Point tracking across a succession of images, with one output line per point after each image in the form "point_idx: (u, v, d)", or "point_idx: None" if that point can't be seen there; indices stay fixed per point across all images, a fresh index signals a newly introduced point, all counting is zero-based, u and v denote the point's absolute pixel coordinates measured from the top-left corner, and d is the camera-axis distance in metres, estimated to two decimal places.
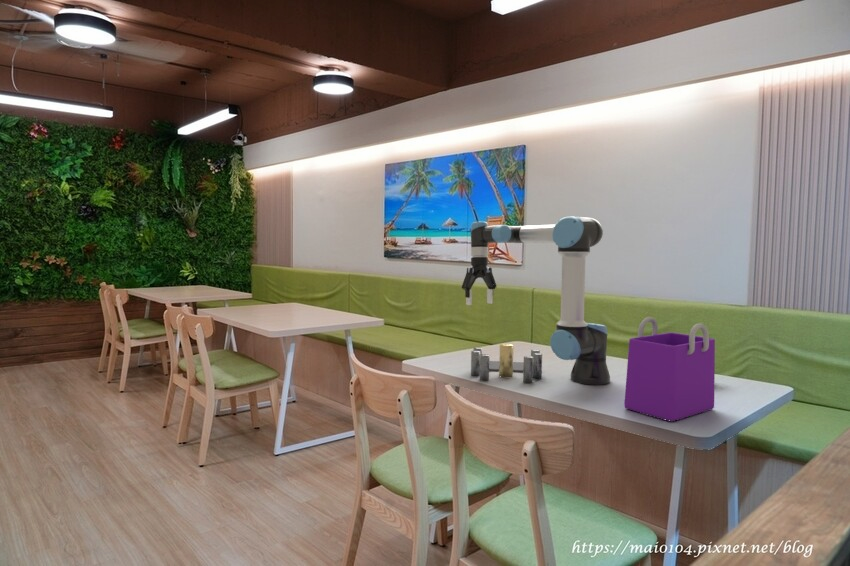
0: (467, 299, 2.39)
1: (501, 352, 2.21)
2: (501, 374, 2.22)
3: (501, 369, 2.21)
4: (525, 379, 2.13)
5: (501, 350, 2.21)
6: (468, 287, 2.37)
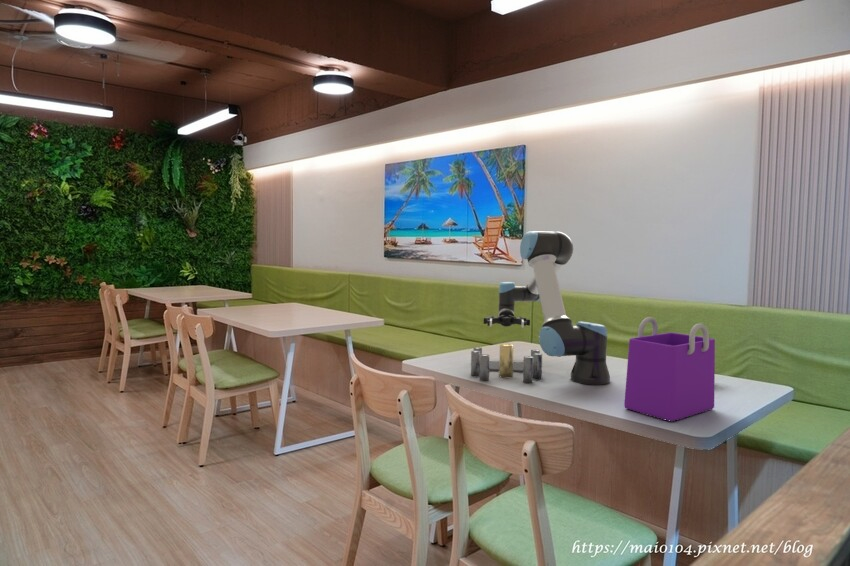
0: (489, 324, 2.35)
1: (501, 352, 2.21)
2: (501, 374, 2.22)
3: (501, 369, 2.21)
4: (525, 379, 2.13)
5: (501, 350, 2.21)
6: None
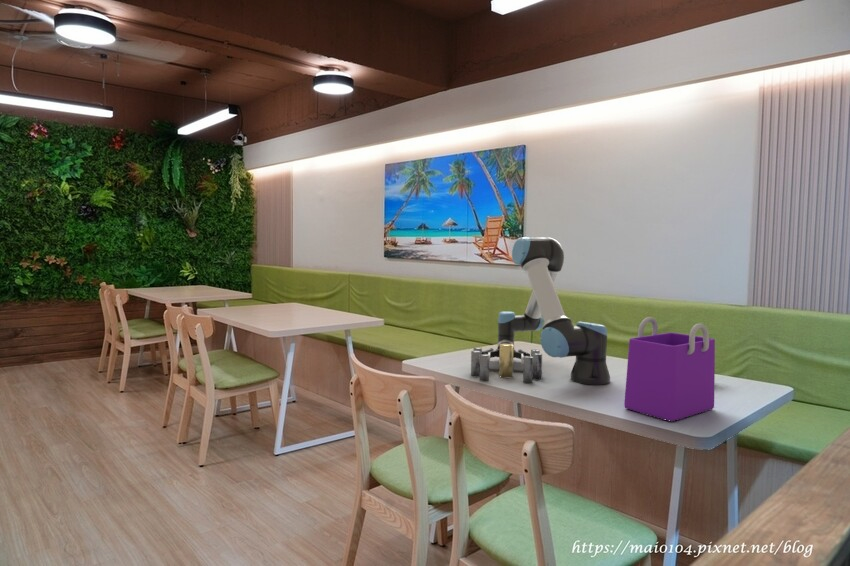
0: None
1: (501, 352, 2.21)
2: (501, 374, 2.22)
3: (501, 369, 2.21)
4: (525, 379, 2.13)
5: (501, 350, 2.21)
6: None
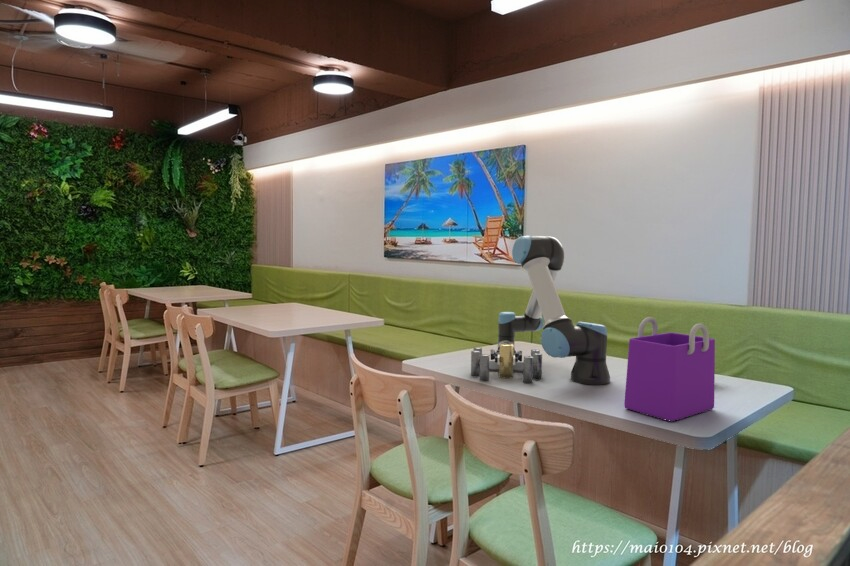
0: (497, 361, 2.21)
1: (501, 352, 2.21)
2: (501, 374, 2.21)
3: (501, 369, 2.21)
4: (525, 379, 2.13)
5: (501, 350, 2.21)
6: (495, 354, 2.26)
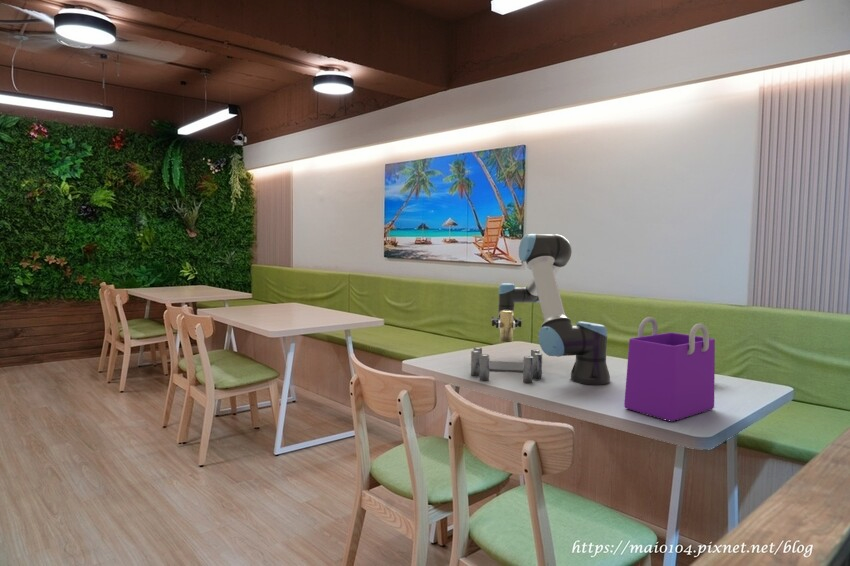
0: (498, 326, 2.35)
1: (502, 318, 2.35)
2: (502, 339, 2.35)
3: (502, 334, 2.35)
4: (525, 379, 2.13)
5: (502, 316, 2.35)
6: (496, 321, 2.40)
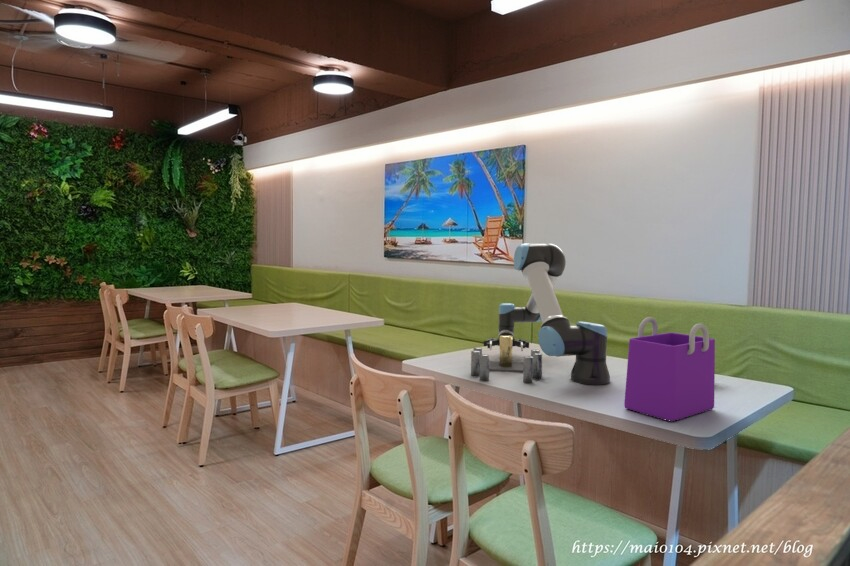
0: (489, 346, 2.39)
1: (501, 343, 2.36)
2: (501, 364, 2.37)
3: (501, 359, 2.37)
4: (525, 379, 2.13)
5: (501, 341, 2.36)
6: (488, 341, 2.44)
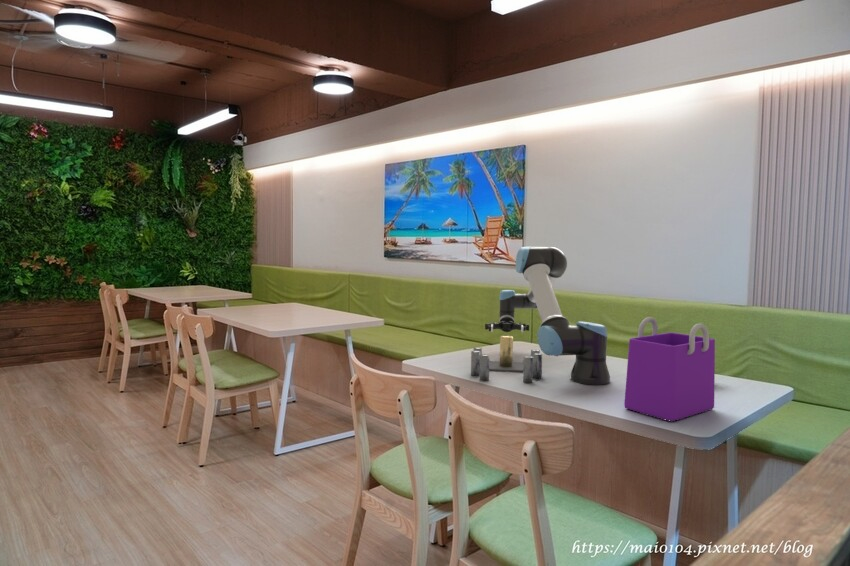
0: (491, 329, 2.47)
1: (501, 343, 2.36)
2: (501, 364, 2.37)
3: (501, 359, 2.37)
4: (525, 379, 2.13)
5: (501, 341, 2.36)
6: None
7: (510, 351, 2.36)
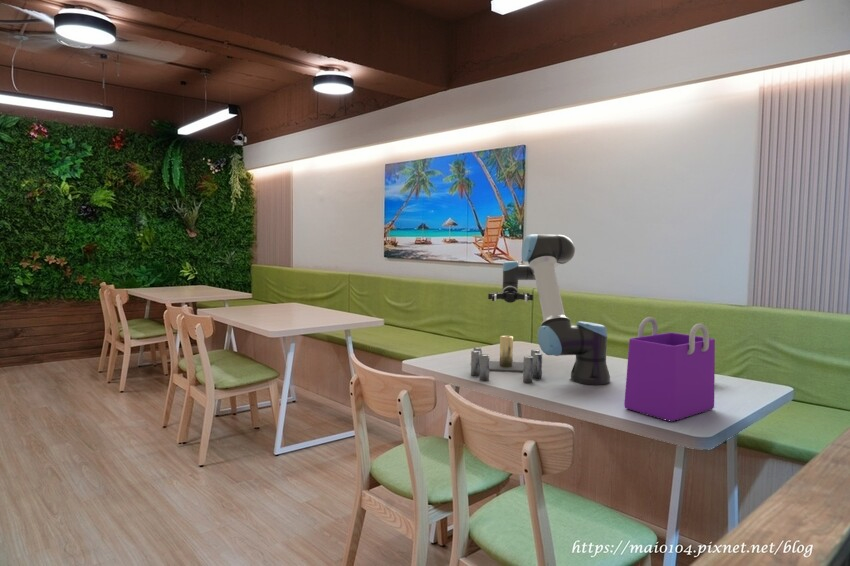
0: (494, 298, 2.45)
1: (501, 343, 2.36)
2: (501, 364, 2.37)
3: (501, 359, 2.37)
4: (525, 379, 2.13)
5: (501, 341, 2.36)
6: None
7: (510, 351, 2.36)
